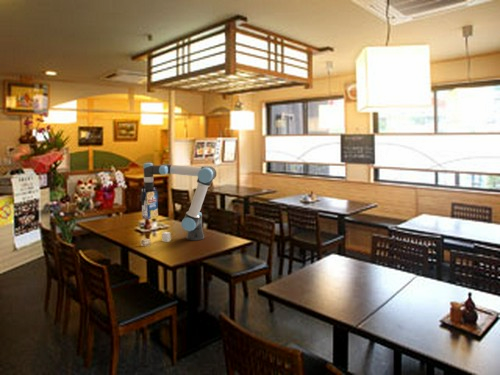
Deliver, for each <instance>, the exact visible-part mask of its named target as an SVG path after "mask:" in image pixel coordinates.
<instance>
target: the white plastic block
mask: <svg viewBox="0 0 500 375" xmlns="http://www.w3.org/2000/svg"><path fill="white" fill-rule="evenodd" d="M161 238H162V239H161V240H162V241H161V242H165V243H168V242H171V240H172V237H171V232H169V231H164V232H162V233H161Z"/></svg>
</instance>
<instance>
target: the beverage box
mask: <svg viewBox="0 0 500 375" xmlns="http://www.w3.org/2000/svg"><path fill="white" fill-rule="evenodd" d="M157 193H158V190H157V191H154V190H153V191H151V192H145V191H144V196H143V197H145V210H144V209H143V206H142V205H141V215H142V216H141V217H142V218H141V219H144V220H152V219H156V218H159V208H158V200H157Z"/></svg>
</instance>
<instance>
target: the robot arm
mask: <svg viewBox="0 0 500 375" xmlns="http://www.w3.org/2000/svg"><path fill="white" fill-rule="evenodd" d="M142 169H143V170H142V171H143V187H144V188H141V189H140V196H139V202H141V207H142V206H143V209H144V210H145V197H143V196H144V192H151V191H157V201H158V200H159V199H160V196H159V193H158V190H157V186H156V187H155V185H154V184H155V183H154V176H155V175H157V176H158V175H159V176H163V175H165V176H167V174H169V175H179V176H191V177H197V179H196V182H197V186H196V189H195V192H194V195H193V198H192V200H191V204H190V207H189V209H188V211H186V212H185V216H184V218H183V219H181V220H182V221H181V227H182V229H183V230H185V231H186V232H187V233H186V240H187V241H188V240H189V241H200V240H204V239H205V234H204V230H203V214H202V212H200V211H201V209H202V205H203V203H204V201H205V197H206V195H207V192H208V188H209V187H211V186H212V184H213V180H215V178H216V177H217V169H215V167H213V166H200V167H197V166H187V165H178V164H177V165H173V164H167V163H166V164H159V165H155V164H154V163H152V162H145V163H143V168H142Z"/></svg>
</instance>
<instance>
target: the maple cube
mask: <svg viewBox="0 0 500 375" xmlns="http://www.w3.org/2000/svg"><path fill="white" fill-rule="evenodd" d="M140 246H141V247H144V248H145V247H146V248H147V247H149V246H151V239H149V238H142V239H140Z"/></svg>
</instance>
